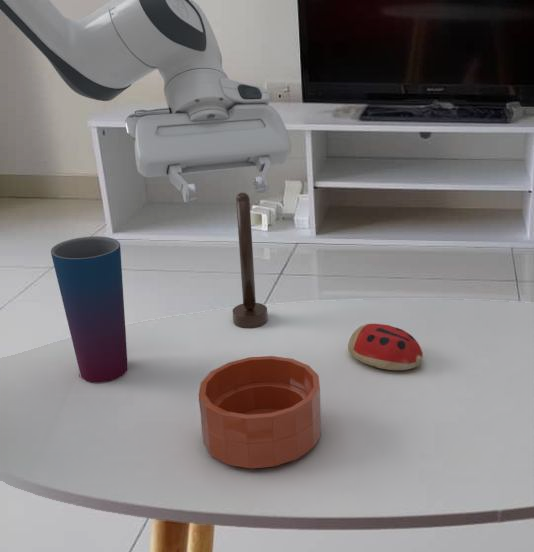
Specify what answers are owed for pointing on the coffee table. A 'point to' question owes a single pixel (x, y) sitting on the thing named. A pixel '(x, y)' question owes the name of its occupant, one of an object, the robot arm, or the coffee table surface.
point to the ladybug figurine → (385, 347)
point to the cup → (93, 304)
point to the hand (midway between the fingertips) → (227, 195)
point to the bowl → (260, 411)
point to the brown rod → (247, 271)
